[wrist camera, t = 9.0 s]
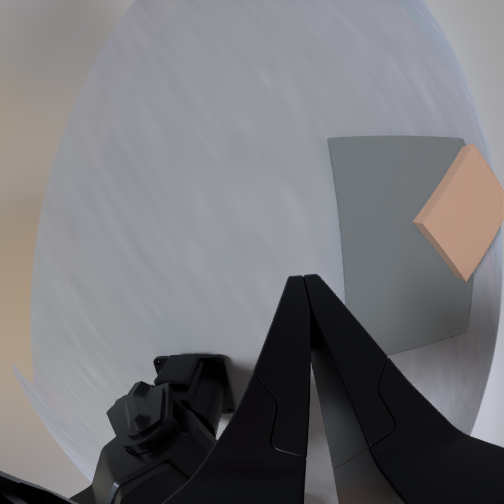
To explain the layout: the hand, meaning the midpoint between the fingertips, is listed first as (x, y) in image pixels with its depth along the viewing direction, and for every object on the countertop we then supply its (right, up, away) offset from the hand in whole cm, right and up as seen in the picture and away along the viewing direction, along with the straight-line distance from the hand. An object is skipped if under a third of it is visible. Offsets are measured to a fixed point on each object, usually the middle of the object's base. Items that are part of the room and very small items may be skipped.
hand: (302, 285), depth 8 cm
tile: (+13, +1, +10) cm, 17 cm away
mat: (+12, +1, +12) cm, 17 cm away
